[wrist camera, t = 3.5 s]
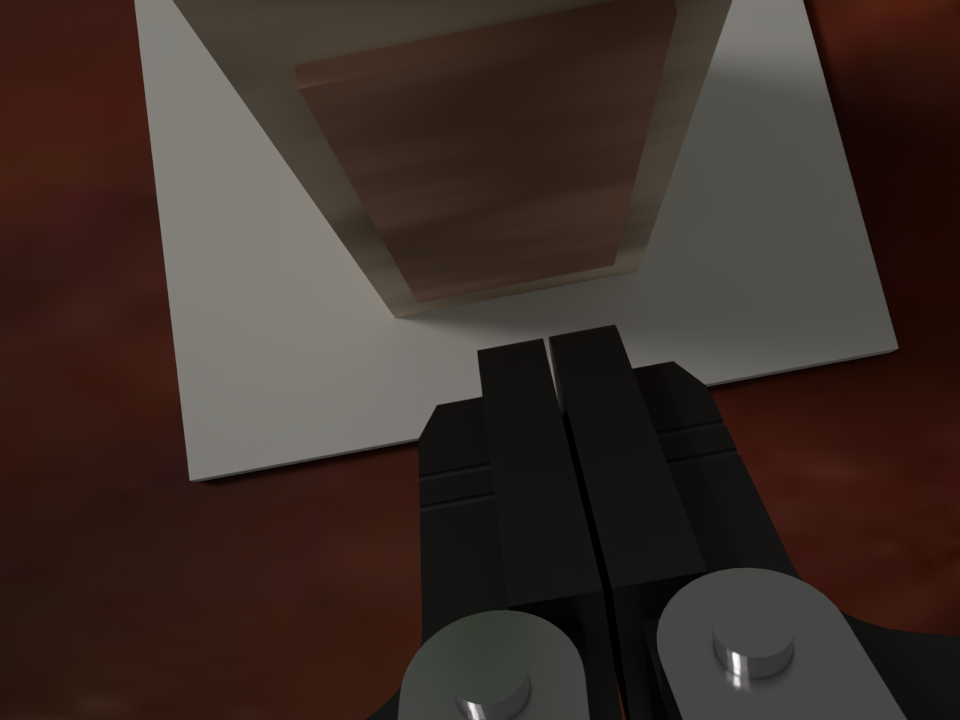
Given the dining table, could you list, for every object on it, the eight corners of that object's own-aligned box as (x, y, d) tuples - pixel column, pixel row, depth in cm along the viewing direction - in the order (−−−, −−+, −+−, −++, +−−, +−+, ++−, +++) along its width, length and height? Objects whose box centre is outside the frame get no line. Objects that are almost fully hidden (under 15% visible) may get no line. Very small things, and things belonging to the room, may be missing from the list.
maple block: (396, 329, 22) (159, 4, 9) (357, 93, 24) (96, -517, 10) (640, 282, 22) (794, -127, 8) (588, 47, 23) (648, -643, 10)
